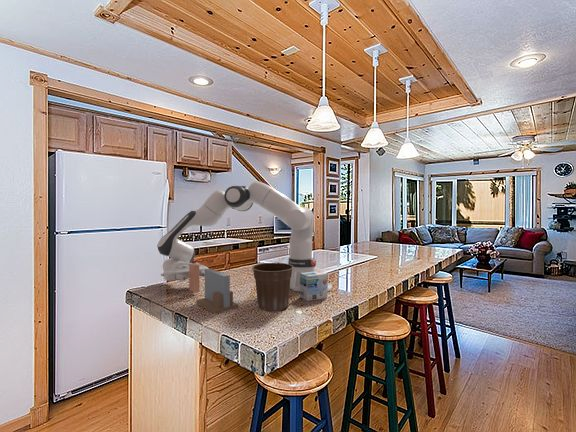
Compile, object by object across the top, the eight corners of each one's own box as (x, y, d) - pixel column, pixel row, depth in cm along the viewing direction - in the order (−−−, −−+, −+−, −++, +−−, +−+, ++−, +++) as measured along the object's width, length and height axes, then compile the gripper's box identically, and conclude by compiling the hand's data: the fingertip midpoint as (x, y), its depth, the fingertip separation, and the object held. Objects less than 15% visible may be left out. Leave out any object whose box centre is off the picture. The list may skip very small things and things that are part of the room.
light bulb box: (307, 301, 137) (307, 276, 136) (299, 297, 143) (299, 272, 142) (328, 298, 142) (328, 273, 141) (319, 294, 147) (320, 270, 147)
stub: (189, 290, 147) (189, 263, 147) (194, 289, 149) (194, 263, 148) (194, 292, 143) (193, 265, 143) (199, 291, 145) (199, 264, 144)
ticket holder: (196, 303, 133) (196, 270, 133) (218, 298, 140) (218, 267, 139) (215, 313, 121) (214, 277, 120) (238, 308, 128) (238, 273, 127)
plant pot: (259, 316, 119) (259, 272, 118) (247, 303, 134) (247, 264, 133) (299, 310, 125) (300, 268, 125) (283, 298, 140) (283, 261, 139)
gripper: (159, 267, 149) (170, 272, 139) (200, 262, 163) (214, 266, 152) (159, 280, 150) (170, 287, 139) (200, 274, 163) (214, 279, 152)
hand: (193, 276), depth 146 cm, fingers open, 8 cm apart
